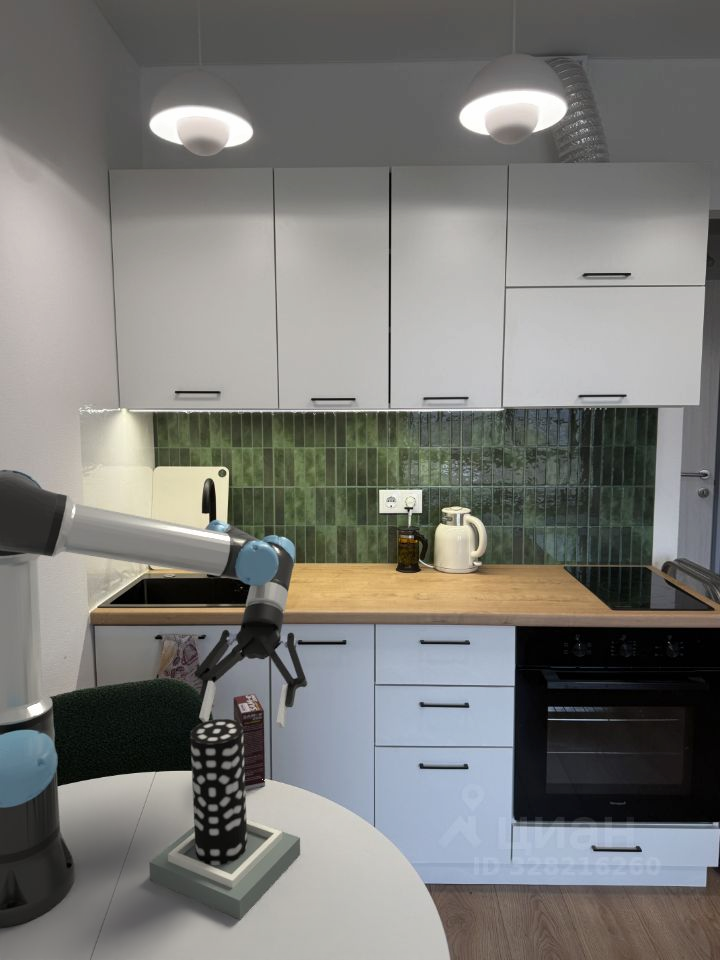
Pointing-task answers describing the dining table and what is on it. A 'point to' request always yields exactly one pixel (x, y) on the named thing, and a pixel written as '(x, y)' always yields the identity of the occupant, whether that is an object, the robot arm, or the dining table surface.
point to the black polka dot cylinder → (219, 791)
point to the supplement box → (252, 738)
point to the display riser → (227, 869)
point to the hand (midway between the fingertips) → (241, 723)
